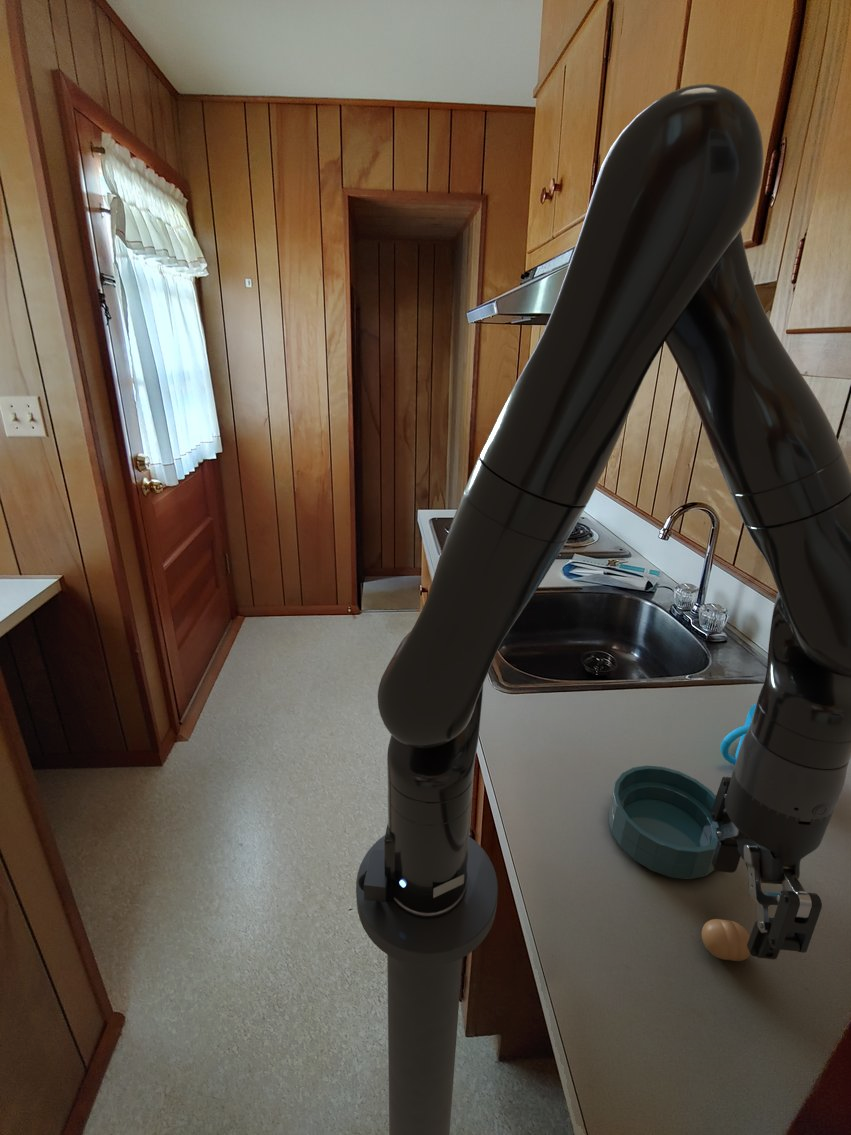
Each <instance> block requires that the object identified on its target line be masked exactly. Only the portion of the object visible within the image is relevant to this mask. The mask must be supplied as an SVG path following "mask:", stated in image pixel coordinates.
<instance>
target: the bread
mask: <svg viewBox="0 0 851 1135" xmlns="http://www.w3.org/2000/svg"><path fill="white" fill-rule="evenodd" d="M749 938H750V933H749V932H748V931H747V929H746V928H745V927H744V926H742V925H741V924H740V923H738V922H736V921H733V920H730V919H729V920H728V919H719V918H713V919H710V920H708V921H706V922H705V923H704V924H703V927H702V929H701V940H702V943H703V946H704V947H705V949H706V950H707V951H708V952H709V953H710V954H711V955H712V956H713V957H715V958H718V959H719V960H725V961H732V962H734V961H735V962H741V961H745V960H747V959H748V958H749V957H750V956H751V954H750V952H749V950H748V947H747V943H748V940H749Z"/></svg>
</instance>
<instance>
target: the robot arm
mask: <svg viewBox="0 0 851 1135" xmlns="http://www.w3.org/2000/svg"><path fill="white" fill-rule="evenodd" d="M763 145H764V144H763V138H762V132H761V129H760V125H759V122H758V120H757V118H756V115H755V113H754V112H753V110H752V108H751V106H749V104H748V103H747V102H746V100H745V99H744V98H742V97H741V95H739V94H738V93H736V92H735V91H734V90H732V89H729V88H727V87H725V86H721V85H718V84H710V83H700V84H699V83H698V84H693V85H687V86H684V87H681V88H678V89H676V90H672V91H671V92H669V93H667V94H665V95H663V96H661V97H660V98H658V99H656V100H655V101H653V102H652V103H651V104H650V105H648V106H647V107H646V108H645V109H643V110H642V111H641V112H640V113H638V114H637V115H636V116H635V117H634V118H633V119H632V121H630V123H628V124H627V126H626V127H625V128H624V129H622V131H621V133H620V134H619V135H618V136H617V138H616V139H615V141H614V142H613V143H612V145H611V146H610V148H609V151H608V152H607V154H606V156H605V158H604V160H603V162H602V164H601V167H600V169H599V172H598V176H597V178H596V181H595V185H594V187H593V191H592V195H591V198H590V201H589V204H588V207H587V211H586V213H585V217H584V220H583V223H582V227H581V229H580V232H579V235H578V238H577V241H576V245H575V247H574V249H573V250H574V251H573V253H572V256H571V258H570V262H569V264H568V267H567V269H566V274H565V276H564V278H563V280H562V284H561V287H560V289H559V292H558V295H557V298H556V300H555V303H554V306H553V308H552V311H551V314H550V315H549V318H548V320H547V322H546V325H545V326H544V329H543V332H542V334H541V336H540V338H539V340H538V341H537V343H536V346H535V347H534V349H533V351H532V353H531V354H530V356H529V358H528V360H527V361H526V363H525V365H524V367H523V369H522V370H521V371H520V374H519V376H518V378H517V379H516V381H515V383H514V384H513V387H512V388H511V391H510V393H509V394H508V396H507V398H506V399H505V401H504V404H503V406H502V407H501V410H500V411H499V414H498V415H497V418H496V420H495V421H494V424H493V425H492V429H491V430H490V432H489V434H488V436H487V438H486V440H485V442H484V444H483V446H482V448H481V450H480V452H479V455H478V457H477V459H476V462H475V464H474V466H473V468H472V471H471V474H470V476H469V478H468V480H467V482H466V485H465V487H464V489H463V492H462V493H461V494H462V495H461V497H460V500H459V503H458V505H457V508H456V510H455V514H454V516H453V517H452V521H451V523H450V526H449V529H448V532H447V535H446V537H445V540H444V543H443V546H442V549H441V551H440V555H439V558H438V562H437V565H436V568H435V572H434V575H433V578H432V582H431V585H430V587H429V591H428V594H427V596H426V599H425V601H424V605H423V606H422V609H421V612H420V613H419V616H418V617H417V619H416V622H415V623H414V625H413V627H412V629H411V631H409V632H408V633H407V634H406V635H405V637H403V639H402V640H401V641H400V643H399V645H398V646H397V648H396V650H395V652H394V654H393V655H392V657H391V658H390V661H389V662H388V663H387V666H386V668H385V670H384V672H383V674H382V675H381V678H380V681H379V684H378V688H377V706H378V711H379V715H380V718H381V721H382V723H383V725H384V727H385V728H386V729H387V731H388V733H389V734H390V738H389V742H388V747H387V754H386V771H387V824H386V829H385V833H384V835H385V838H384V850H376V849H372V850H371V855H370V859H369V864H368V868H367V871H365V873H363V874H362V875H361V876H360V877H359V880H358V883H359V886H360V888H361V889H362V890H363V891H364V900H369V901H378V902H386V901H391V902H394V903H395V904H396V905H397V906H398V907H399V908H400V909H401V910H402V911H404V912H405V913H407V914H409V915H411V916H414V917H417V918H422V919H433V918H438V917H442V916H444V915H447V914H448V913H450V912H451V911H453V910H454V909H455V908H456V907H457V906H458V905H459V904H460V902H461V901H462V899H463V897H464V895H465V892H466V886H467V861H468V847H469V837H470V831H471V830H470V828H471V818H472V802H473V789H474V788H473V787H474V775H475V764H476V763H475V762H476V757H477V749H478V744H479V738H480V726H481V716H482V705H483V696H484V695H483V694H484V693H483V692H484V684H485V681H486V680H487V679H486V678H487V676H488V674H489V671H490V669H491V667H492V664H493V662H494V660H495V657H496V655H497V653H498V651H499V650H500V647H501V646H502V643H503V642H504V639H506V637H507V636H508V634H509V633H510V630H511V629H512V627H513V626H514V625H515V623H516V622H517V620H518V619H519V617H520V616H521V614H522V612H523V611H524V610H525V608H526V607H527V605H528V604H529V602H530V601H531V600H532V598H533V597H534V595H535V593H536V592H537V590H538V589H539V586H540V585H541V584H542V582H543V581H544V579H545V577H546V576H547V574H548V572H549V571H550V569H551V568H552V566H553V564H554V563H555V561H556V559H557V557H558V556H559V554H560V553H561V551H562V549H563V548H564V546H565V545H566V543H567V541H568V539H570V536H571V534H572V532H573V530H574V529H575V527H576V525H577V523H579V520H580V518H581V516H582V514H583V513H584V511H585V509H586V508H587V505H588V503H589V501H590V500H591V498H592V496H593V494H594V492H595V490H596V487H597V486H598V483H599V481H600V479H601V477H602V475H603V473H604V472H605V469H606V468H607V466H608V463H609V461H610V459H611V457H612V454H613V452H614V450H615V448H616V446H617V443H618V441H619V439H620V437H621V434H622V432H623V429H624V426H625V424H626V423H627V422H626V421H627V419H628V417H629V414H630V412H631V410H632V407H633V405H634V402H635V400H636V397H637V394H638V392H639V390H640V388H641V386H642V383H643V382H644V379H645V377H646V375H647V374H648V371H649V370H650V368H651V366H652V364H653V362H654V360H655V359H656V357H657V355H658V354H659V352H660V350H661V349H662V347H663V345H664V343H665V345H666V346H667V348H668V351H669V352H670V354H671V356H672V358H673V360H674V362H675V364H676V365H677V368H678V369H679V372H680V374H681V377H682V378H683V380H684V383H685V385H686V387H687V389H688V392H689V394H690V397H691V399H692V402H693V404H694V407H695V409H696V412H697V414H698V416H699V418H700V421H701V424H702V427H703V429H704V431H705V434H706V437H707V439H708V441H709V444H710V448H711V450H712V452H713V455H714V458H715V460H716V463H717V464H718V465H717V466H718V467H719V470H720V472H721V474H722V477H723V480H724V482H725V484H726V487H727V489H728V491H729V493H730V496H731V498H732V500H733V502H734V505H735V507H736V509H737V511H738V513H739V514H738V515H739V516H740V518H741V520H742V522H743V525H744V527H745V529H746V531H747V533H748V535H749V536H750V538H751V540H752V542H753V543H754V544H755V546H756V548H757V549H758V551H759V553H760V554H761V555H762V557H763V558H764V560H765V562H766V564H767V565H768V568H769V570H770V573H771V575H772V577H773V581H774V583H775V586H776V588H777V591H778V592H777V594H776V598H775V601H774V606H773V610H772V616H771V622H770V630H769V631H770V632H769V639H768V648H767V662H766V663H767V664H766V672H765V677H764V682H763V685H762V687H761V689H760V692H759V695H758V698H757V701H756V704H757V705H756V708H755V711H754V715H753V718H752V721H751V724H750V727H749V729H748V731H747V733H746V735H745V737H744V739H743V741H742V744H741V747H740V750H739V753H738V757H737V760H736V763H735V764H734V767H733V771H732V775H731V776H722V777H721V781H720V782H719V787H718V790H717V793H716V794H715V795H716V798H715V801H714V804H713V807H712V810H711V818H712V820H713V822H718V826H719V827H718V828H717V829H716V836H717V839H718V842H717V846H716V849H715V852H714V856H713V860H712V865H713V867H714V871H716V872H719V873H731V874H732V873H736V871H737V869H738V866H739V864H740V863H739V862H740V861H741V859H742V860H743V861H744V864H745V866H746V869H747V879H748V880H747V881H748V893H749V896H750V898H751V899H752V900H753V901H754V902H755V911H756V920H755V922H754V924H753V927H752V930H751V932H750V934H749V936H750V938H749V940H748V943H747V947H748V950H749V952H750V956H751V957H756V958H757V959H766V960H776V959H778V957H779V954H780V951H790V952H791V951H792V952H798V953H802V954H803V953H804V954H806V953H807V952H808V948H809V946H810V943H811V939H812V938H813V935H814V931H815V928H816V926H817V923H818V920H819V917H820V914H821V911H822V909H823V903H822V900H821V897H820V896H819V894H818V893H815V892H808V891H806V889H805V888H804V886H803V885H802V883H801V881H800V880H799V879H800V876H801V868H800V867H801V861H802V860H803V859H804V858H805V857H807V856H808V855H810V854H811V853H813V852H815V851H816V850H817V849H818V848H819V847H820V846H821V843H822V842H823V838H824V836H825V834H826V832H827V828H828V826H829V824H830V821H831V820H832V817H833V814H834V812H835V808H836V806H837V804H838V802H839V799H840V796H841V794H842V792H843V789H844V786H845V782H846V778H847V773H848V772H847V771H848V766H849V763H850V760H851V470H850V468H849V465H848V462H847V460H846V458H845V455H844V453H843V450H842V447H841V445H840V442H839V439H838V438H837V435H836V433H835V431H834V428H833V426H832V424H831V422H830V420H829V419H828V417H827V415H826V412H825V410H824V409H823V407H822V405H821V404H820V402H819V400H818V398H817V397H816V395H815V393H814V391H813V390H812V388H811V387H810V385H809V384H808V382H807V381H806V379H805V378H804V376H803V374H802V373H801V372H800V370H799V369H798V367H797V365H796V364H795V362H794V361H793V360H792V357H791V356H790V355H789V353H788V351H787V349H786V348H785V347H784V345H783V343H782V341H781V340H780V337H779V336H778V334H777V333H776V331H775V329H774V327H773V325H772V323H771V321H770V319H769V317H768V315H767V312H766V311H765V308H764V306H763V304H762V301H761V299H760V296H759V294H758V291H757V289H756V286H755V282H754V280H753V277H752V272H751V270H750V265H749V261H748V256H747V253H746V248H745V243H744V239H743V234H742V229H743V228H744V226H745V224H746V223H747V222H748V220H749V218H750V215H751V214H752V211H753V209H754V207H755V205H756V202H757V199H758V196H759V193H760V192H759V191H760V188H761V185H762V178H763V170H764V146H763ZM724 809H726V810H724ZM762 884H769V885H782V890H781V891H779V892H776V891H766V890H762ZM770 906H776V909H775V913H774V916H773V917H771V916H770V912H769V908H770Z"/></svg>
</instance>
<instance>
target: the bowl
mask: <svg viewBox="0 0 851 1135" xmlns="http://www.w3.org/2000/svg"><path fill="white" fill-rule="evenodd" d="M716 795H717V794H715V792H713V791H712V790H711V789H710V788H709V787H707V786H705V785H704V784H703V783H702V782H700V781H699V780H698V779H696V778H694V777H692V776H689V775H688V774H686V773H684V772H681V771H679V770H676V769H672V768H668V767H665V766H657V765H640V766H634V767H631V768H629V769H627V770H625V771H623V772H622V773H621V774H620V775H619V777H618V778H617V779H616V780H615V782H614V786H613V791H612V796H611V800H610V805H609V811H608V817H607V819H608V825H609V828H610V832H611V834H612V836H613V837H614V839H615V841H616V842H617V844H618V845H619V847H620V848H621V849H622V850H623V851H624V852H625V853H627V855H629V857H631V859H633V860H634V861H635V862H637V863H638V864H640V865H642V867H644V868H647V870H650V871H651V872H654V873H657V874H660V875H662V876H666V877H669V878H672V879H683V880H694V879H697V878H699V879H700V878H703V877H707V876H708V875H709V874H711V873H712V872H714V871H715V870H714V867H713V865H712V860H713V856H714V852H715V849H716V846H717V842H718V839H717V836H716V829H717V828H718V827H719V826H718V822H713V820H712V818H711V810H712V807H713V804H714V801H715V798H716ZM724 810H726V808H725V809H724Z"/></svg>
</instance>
